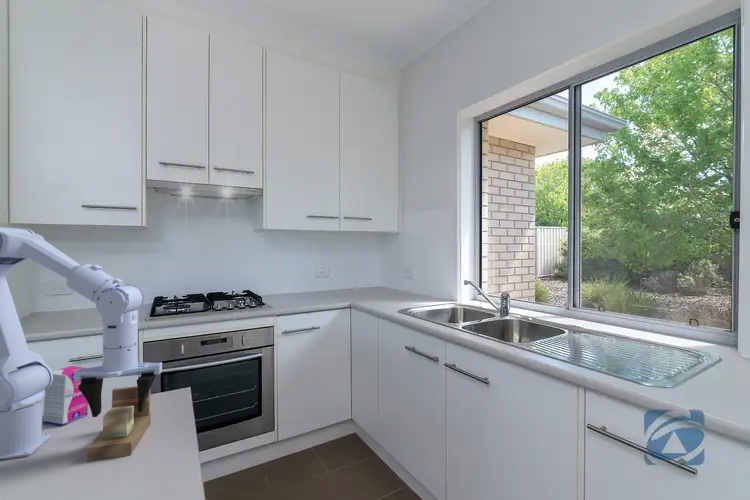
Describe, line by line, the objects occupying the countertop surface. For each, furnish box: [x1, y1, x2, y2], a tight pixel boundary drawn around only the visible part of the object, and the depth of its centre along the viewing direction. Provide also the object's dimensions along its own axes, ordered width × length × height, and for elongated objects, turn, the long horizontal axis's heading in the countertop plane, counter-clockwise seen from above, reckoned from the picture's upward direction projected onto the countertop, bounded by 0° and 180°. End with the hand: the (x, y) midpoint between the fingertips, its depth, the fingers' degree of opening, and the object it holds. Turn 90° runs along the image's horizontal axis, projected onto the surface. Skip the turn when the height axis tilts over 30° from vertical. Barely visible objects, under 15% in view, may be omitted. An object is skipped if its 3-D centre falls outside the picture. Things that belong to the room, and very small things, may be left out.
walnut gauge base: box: [86, 385, 152, 462], centre depth 73 cm, size 7×13×9 cm, turn 19°
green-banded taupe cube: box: [102, 406, 134, 440], centre depth 71 cm, size 4×4×4 cm
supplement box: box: [42, 365, 89, 427], centre depth 82 cm, size 6×6×12 cm
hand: (119, 412), depth 71 cm, fingers open, 7 cm apart
